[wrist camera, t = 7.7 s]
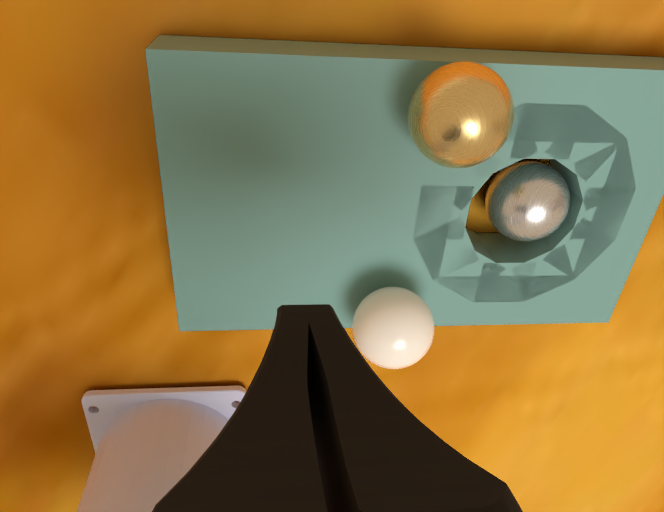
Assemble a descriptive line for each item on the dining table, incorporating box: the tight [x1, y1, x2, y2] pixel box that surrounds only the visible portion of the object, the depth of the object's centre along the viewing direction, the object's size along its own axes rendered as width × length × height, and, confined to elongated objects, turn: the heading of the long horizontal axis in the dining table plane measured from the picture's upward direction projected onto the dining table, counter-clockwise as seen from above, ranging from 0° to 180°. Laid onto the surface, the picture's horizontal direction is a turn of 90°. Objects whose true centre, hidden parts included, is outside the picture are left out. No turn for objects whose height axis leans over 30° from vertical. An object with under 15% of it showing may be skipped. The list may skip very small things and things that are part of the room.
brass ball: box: [408, 61, 514, 168], centre depth 16 cm, size 3×3×3 cm
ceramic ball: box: [352, 287, 434, 369], centre depth 21 cm, size 3×3×3 cm
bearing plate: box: [145, 35, 664, 331], centre depth 21 cm, size 19×11×2 cm, turn 87°
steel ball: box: [485, 161, 570, 241], centre depth 21 cm, size 3×3×3 cm
